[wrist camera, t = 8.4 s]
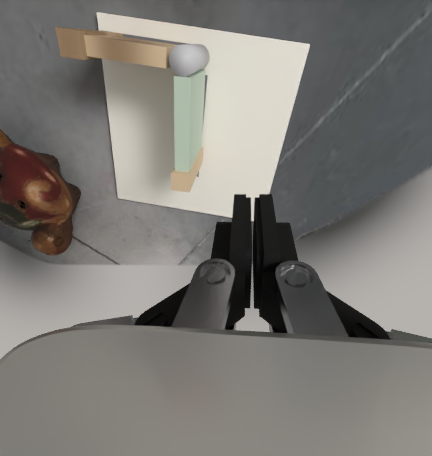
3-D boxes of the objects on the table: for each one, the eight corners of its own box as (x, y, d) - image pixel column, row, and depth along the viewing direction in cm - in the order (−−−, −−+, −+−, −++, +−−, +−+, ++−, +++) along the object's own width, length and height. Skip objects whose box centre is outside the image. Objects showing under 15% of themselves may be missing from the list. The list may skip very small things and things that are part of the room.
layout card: (120, 196, 33) (117, 198, 32) (99, 12, 22) (96, 11, 22) (261, 219, 32) (261, 222, 32) (308, 44, 22) (310, 44, 21)
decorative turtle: (73, 235, 38) (30, 273, 31) (-16, 141, 32) (-91, 164, 25) (119, 211, 34) (80, 248, 27) (26, 98, 28) (-51, 111, 21)
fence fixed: (107, 53, 23) (60, 56, 18) (105, 30, 23) (55, 27, 17) (186, 65, 23) (164, 72, 18) (187, 43, 22) (164, 43, 17)
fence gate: (189, 43, 22) (166, 43, 16) (210, 45, 22) (194, 46, 16) (187, 160, 28) (169, 190, 22) (203, 162, 28) (190, 192, 22)
